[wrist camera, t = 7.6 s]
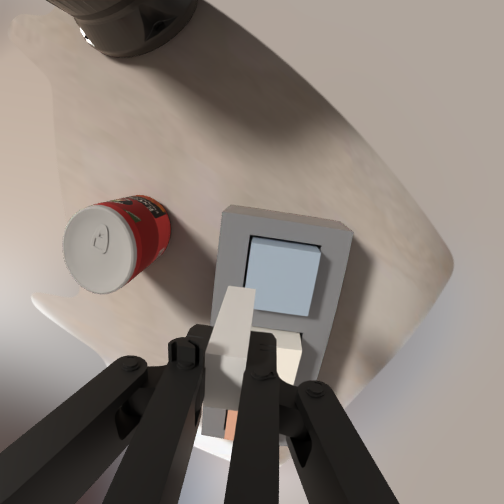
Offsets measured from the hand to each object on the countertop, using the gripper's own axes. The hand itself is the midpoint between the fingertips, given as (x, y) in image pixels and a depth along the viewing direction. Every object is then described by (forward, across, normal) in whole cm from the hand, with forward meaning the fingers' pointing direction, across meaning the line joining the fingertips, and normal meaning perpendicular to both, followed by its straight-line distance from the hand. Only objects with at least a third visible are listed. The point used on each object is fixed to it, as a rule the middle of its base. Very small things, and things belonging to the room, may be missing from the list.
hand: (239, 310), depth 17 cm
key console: (+18, +2, -11) cm, 21 cm away
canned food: (+19, -13, -1) cm, 23 cm away
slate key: (+15, +3, -2) cm, 16 cm away
